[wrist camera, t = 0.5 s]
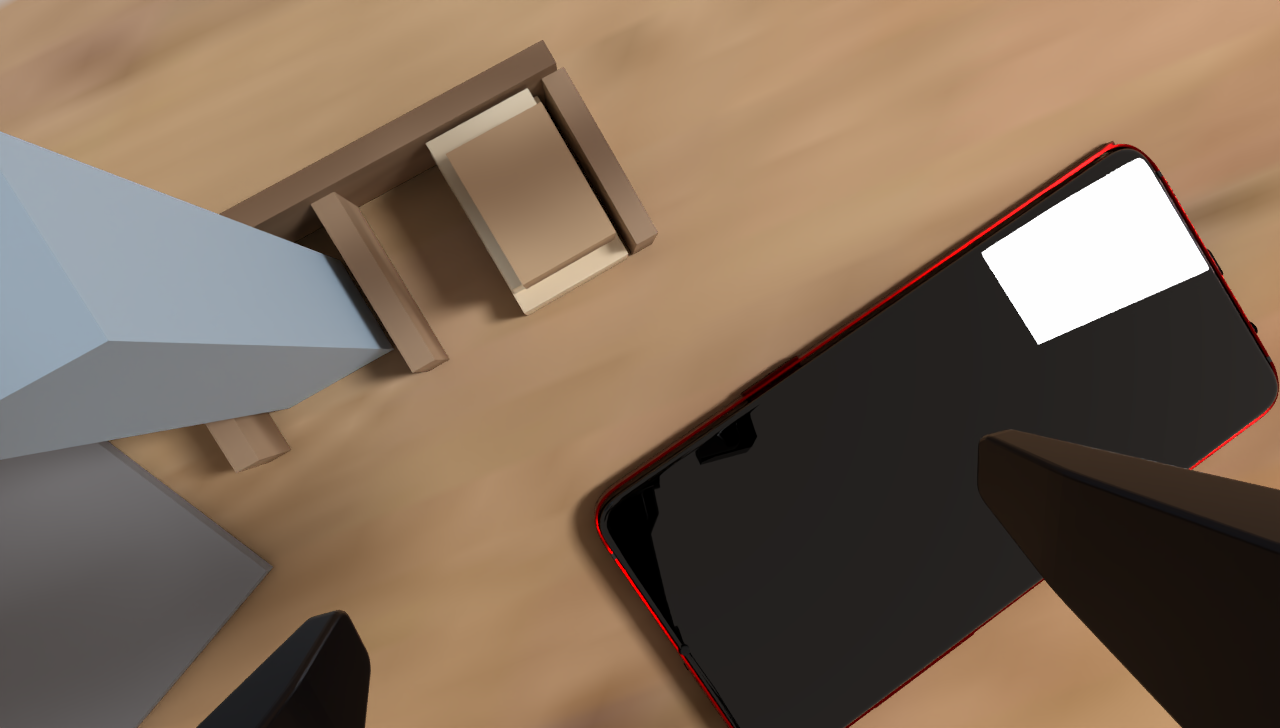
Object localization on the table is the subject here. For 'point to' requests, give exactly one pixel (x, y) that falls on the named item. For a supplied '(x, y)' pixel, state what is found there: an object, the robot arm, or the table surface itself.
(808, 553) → the smartphone
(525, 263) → the offcut stack
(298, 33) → the table surface
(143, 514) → the mat
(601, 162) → the rack
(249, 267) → the block
